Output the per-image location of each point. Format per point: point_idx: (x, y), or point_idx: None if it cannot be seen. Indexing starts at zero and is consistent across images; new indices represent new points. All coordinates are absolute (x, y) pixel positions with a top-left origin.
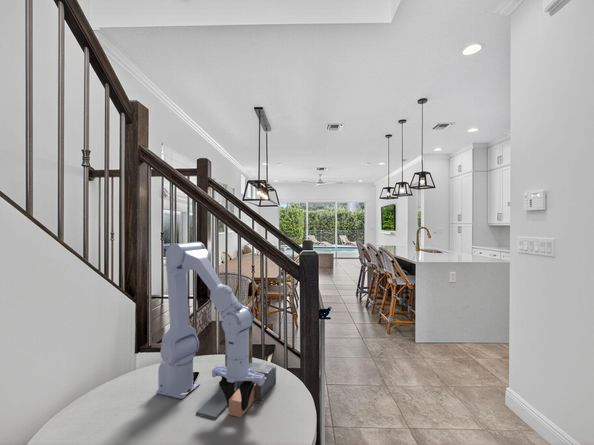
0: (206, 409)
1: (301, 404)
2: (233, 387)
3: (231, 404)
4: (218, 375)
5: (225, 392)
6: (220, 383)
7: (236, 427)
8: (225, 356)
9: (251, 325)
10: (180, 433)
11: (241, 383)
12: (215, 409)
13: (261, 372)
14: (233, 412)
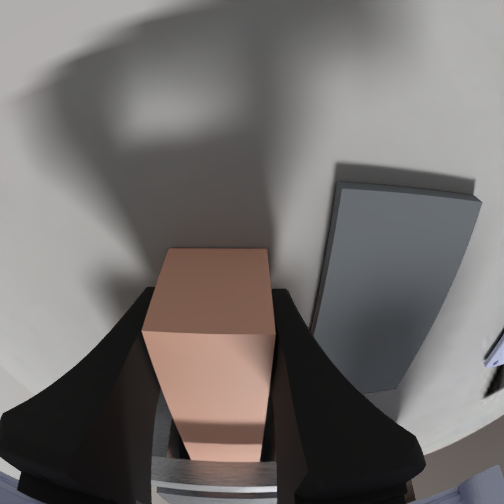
0: (433, 239)
1: (19, 369)
2: (278, 433)
3: (244, 302)
4: (443, 497)
5: (320, 383)
6: (404, 469)
7: (135, 152)
8: (413, 493)
9: None
10: (481, 18)
11: (275, 444)
12: (377, 256)
13: (192, 494)
14: (226, 261)
